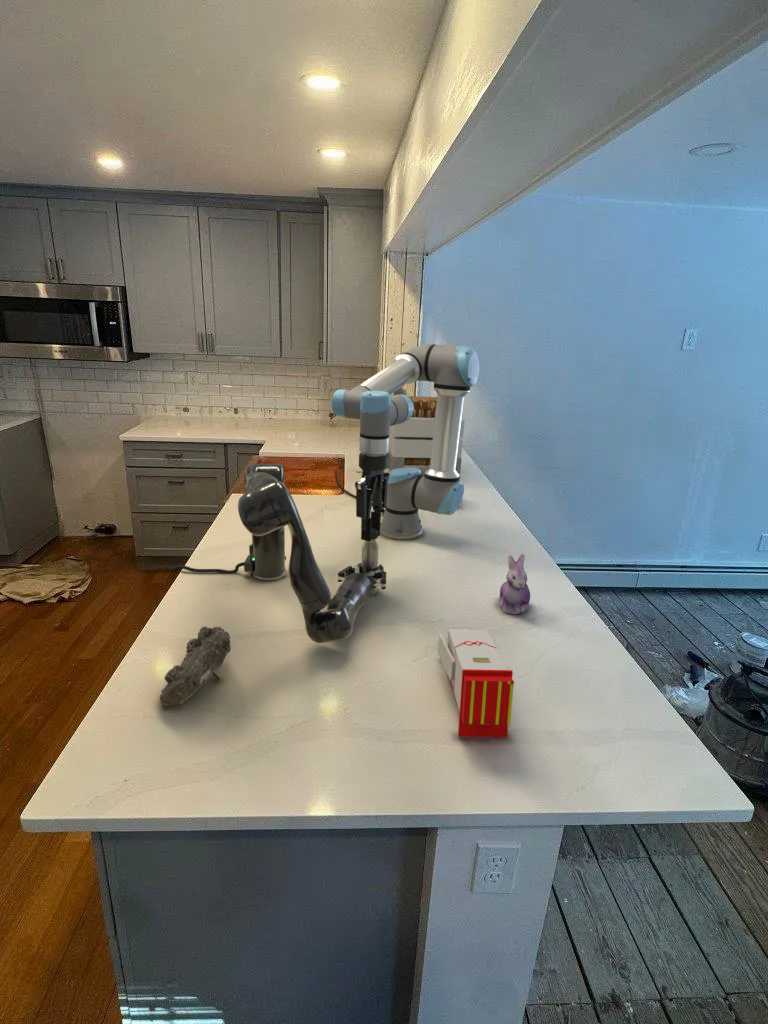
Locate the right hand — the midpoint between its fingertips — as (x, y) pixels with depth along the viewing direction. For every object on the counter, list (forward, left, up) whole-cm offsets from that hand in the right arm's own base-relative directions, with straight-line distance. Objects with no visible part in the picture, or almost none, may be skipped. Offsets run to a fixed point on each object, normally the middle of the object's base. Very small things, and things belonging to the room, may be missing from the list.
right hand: (370, 537), depth 153 cm
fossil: (+9, -53, -16) cm, 56 cm away
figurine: (+30, +26, -16) cm, 43 cm away
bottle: (0, 0, -16) cm, 16 cm away
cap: (0, 0, +2) cm, 2 cm away
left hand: (-2, +2, -10) cm, 10 cm away
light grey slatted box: (-80, +97, -16) cm, 126 cm away
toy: (+47, -11, -16) cm, 51 cm away
